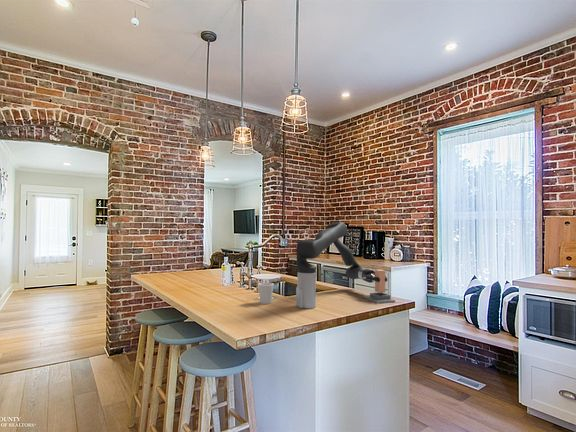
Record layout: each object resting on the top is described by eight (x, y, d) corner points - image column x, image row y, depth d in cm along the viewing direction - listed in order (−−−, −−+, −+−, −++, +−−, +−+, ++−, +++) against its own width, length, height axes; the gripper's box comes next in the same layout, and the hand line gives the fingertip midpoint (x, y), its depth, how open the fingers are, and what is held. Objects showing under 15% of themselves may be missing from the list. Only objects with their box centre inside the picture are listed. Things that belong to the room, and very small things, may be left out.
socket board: (377, 303, 176) (377, 297, 176) (362, 297, 190) (362, 292, 190) (395, 302, 179) (395, 296, 179) (379, 296, 193) (379, 291, 193)
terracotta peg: (378, 292, 182) (379, 270, 183) (375, 291, 186) (375, 269, 187) (385, 292, 184) (385, 270, 184) (381, 290, 187) (381, 269, 188)
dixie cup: (274, 301, 178) (274, 282, 179) (272, 304, 170) (272, 285, 170) (259, 300, 179) (259, 282, 180) (256, 304, 171) (256, 284, 171)
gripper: (356, 269, 197) (371, 273, 180) (377, 268, 201) (394, 272, 184) (356, 281, 197) (371, 287, 180) (377, 280, 201) (394, 286, 184)
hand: (383, 279), depth 182 cm, fingers closed on terracotta peg, 4 cm apart
